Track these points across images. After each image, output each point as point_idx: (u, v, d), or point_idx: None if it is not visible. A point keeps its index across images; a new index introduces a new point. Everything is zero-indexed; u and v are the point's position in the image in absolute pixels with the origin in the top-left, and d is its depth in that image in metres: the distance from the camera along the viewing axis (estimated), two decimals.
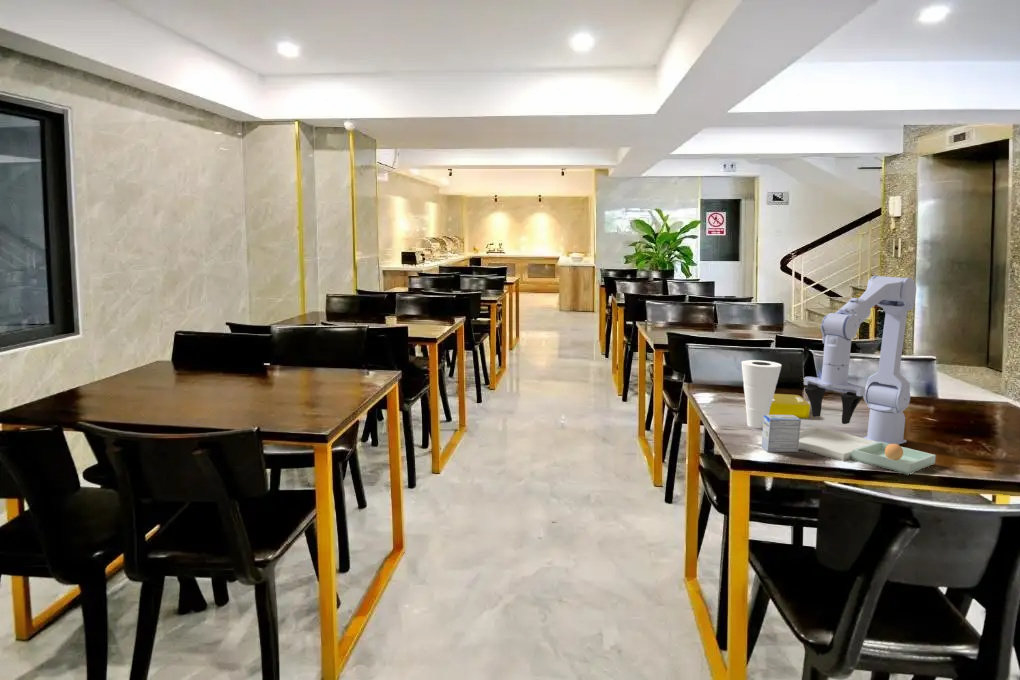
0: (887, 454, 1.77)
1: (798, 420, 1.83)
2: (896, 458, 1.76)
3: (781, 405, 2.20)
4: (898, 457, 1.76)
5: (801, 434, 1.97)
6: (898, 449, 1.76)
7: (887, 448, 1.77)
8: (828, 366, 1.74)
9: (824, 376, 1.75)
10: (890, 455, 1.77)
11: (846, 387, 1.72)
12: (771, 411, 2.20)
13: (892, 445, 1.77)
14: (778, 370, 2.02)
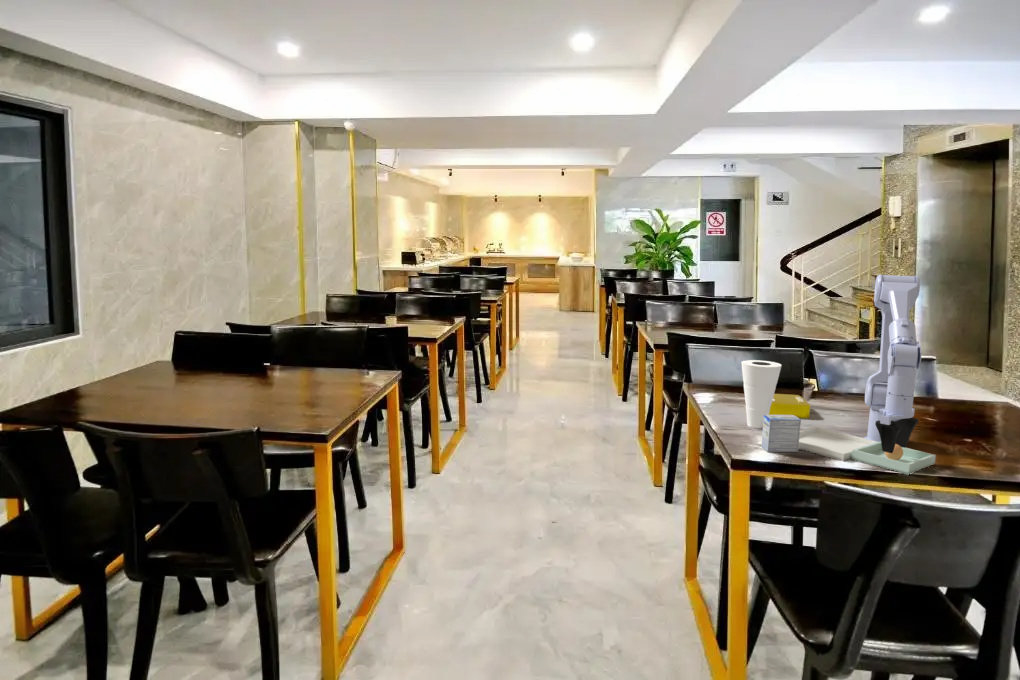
0: (887, 454, 1.77)
1: (798, 420, 1.83)
2: (896, 458, 1.76)
3: (781, 405, 2.19)
4: (898, 457, 1.76)
5: (801, 434, 1.97)
6: (898, 449, 1.76)
7: None
8: None
9: None
10: (890, 455, 1.77)
11: (883, 414, 1.75)
12: (771, 411, 2.20)
13: None
14: (778, 370, 2.02)
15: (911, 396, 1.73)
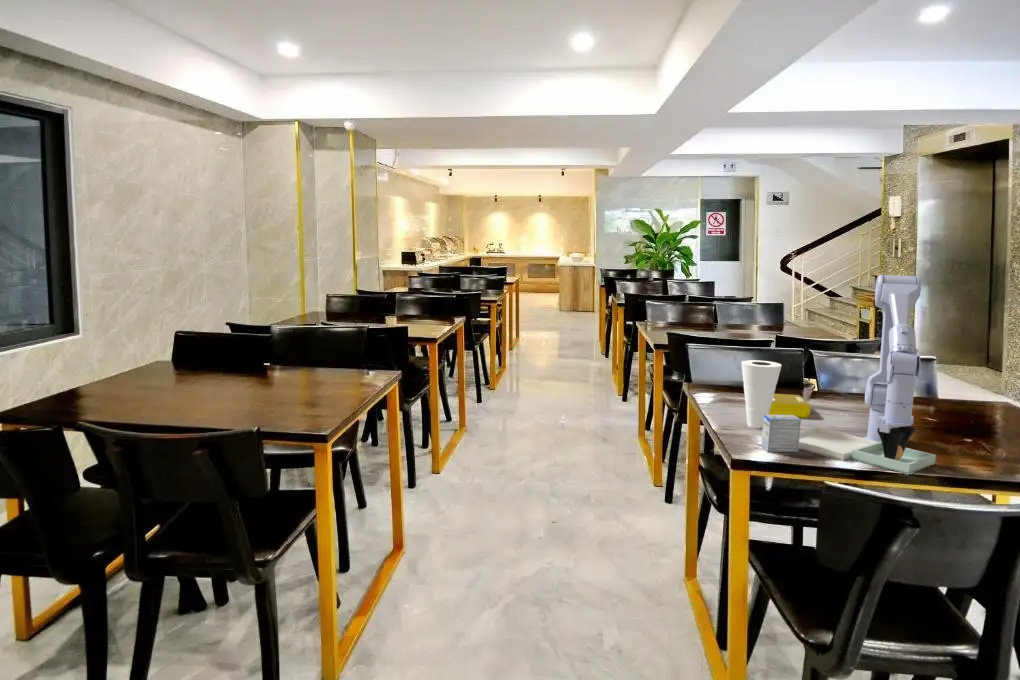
0: None
1: (798, 420, 1.83)
2: (896, 458, 1.76)
3: (781, 405, 2.20)
4: (898, 457, 1.76)
5: (801, 434, 1.97)
6: (898, 449, 1.76)
7: None
8: None
9: None
10: None
11: (882, 422, 1.75)
12: (771, 411, 2.20)
13: None
14: (778, 370, 2.02)
15: (910, 404, 1.73)
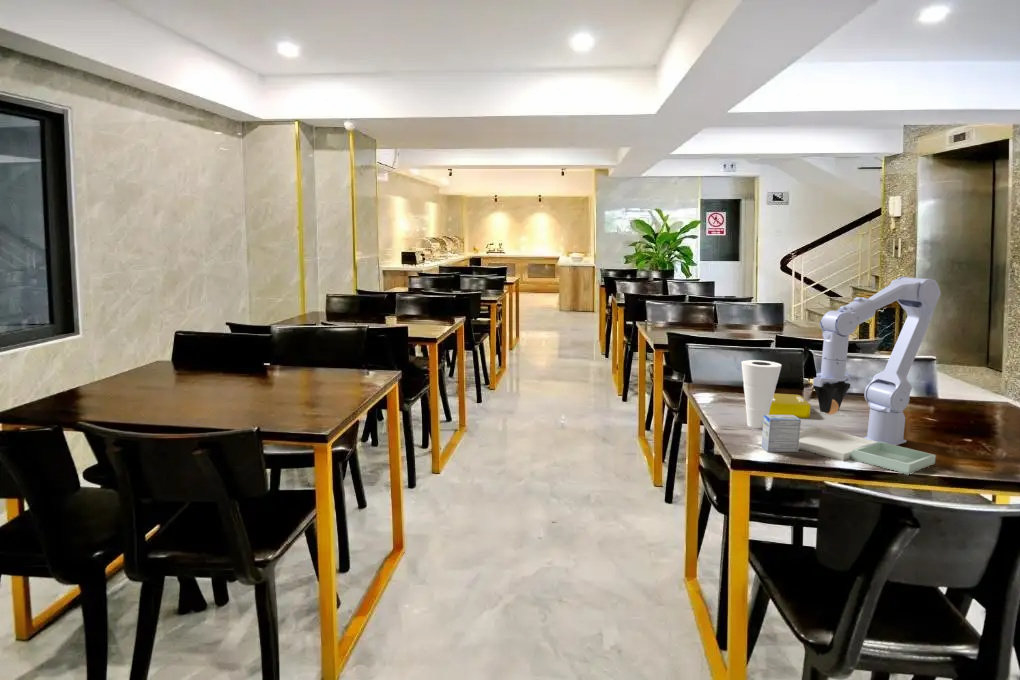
0: None
1: (798, 420, 1.83)
2: (831, 412, 1.87)
3: (782, 405, 2.20)
4: (833, 411, 1.87)
5: (801, 434, 1.97)
6: (833, 404, 1.87)
7: None
8: None
9: None
10: None
11: (817, 377, 1.86)
12: (771, 411, 2.21)
13: None
14: (778, 370, 2.02)
15: (843, 360, 1.84)
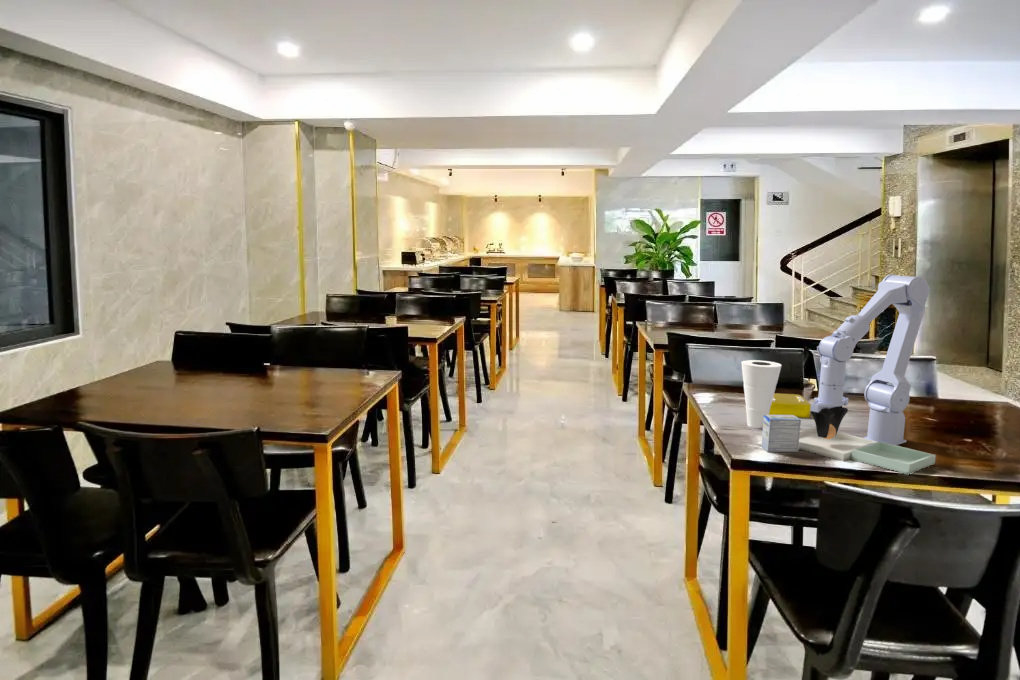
0: None
1: (798, 420, 1.83)
2: (829, 437, 1.88)
3: (782, 405, 2.20)
4: (831, 436, 1.88)
5: (801, 434, 1.97)
6: (830, 428, 1.88)
7: None
8: None
9: None
10: None
11: None
12: (772, 411, 2.21)
13: None
14: (778, 370, 2.02)
15: (840, 386, 1.85)
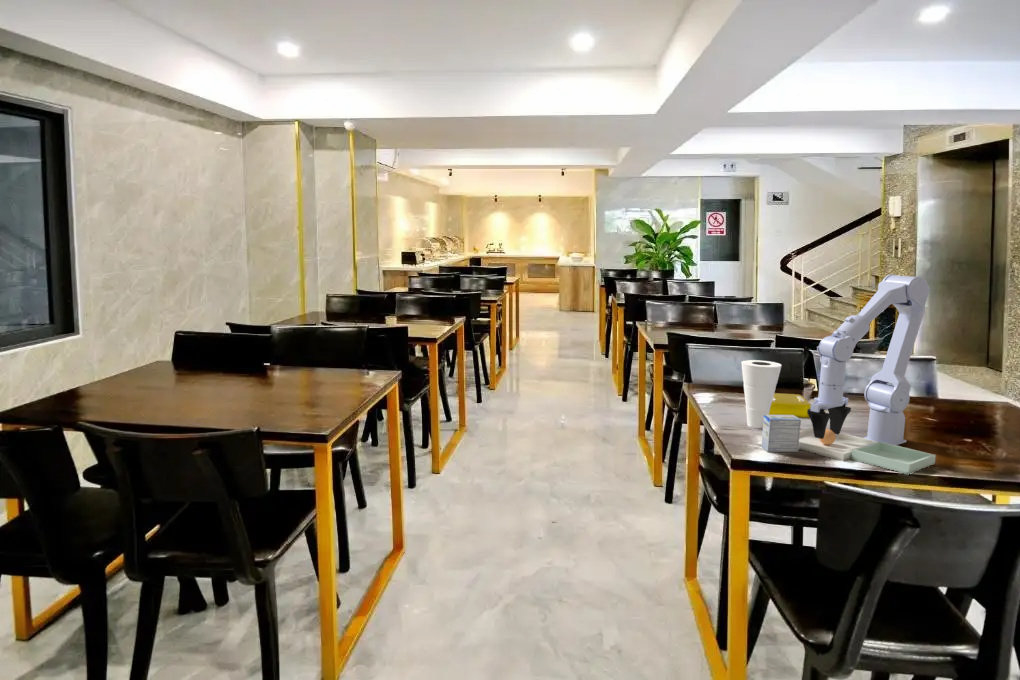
0: (820, 439, 1.89)
1: (798, 420, 1.83)
2: (828, 442, 1.88)
3: (782, 404, 2.20)
4: (830, 441, 1.88)
5: (801, 434, 1.97)
6: (830, 434, 1.88)
7: None
8: None
9: None
10: (822, 439, 1.89)
11: None
12: (772, 410, 2.21)
13: None
14: (778, 370, 2.02)
15: (840, 386, 1.85)
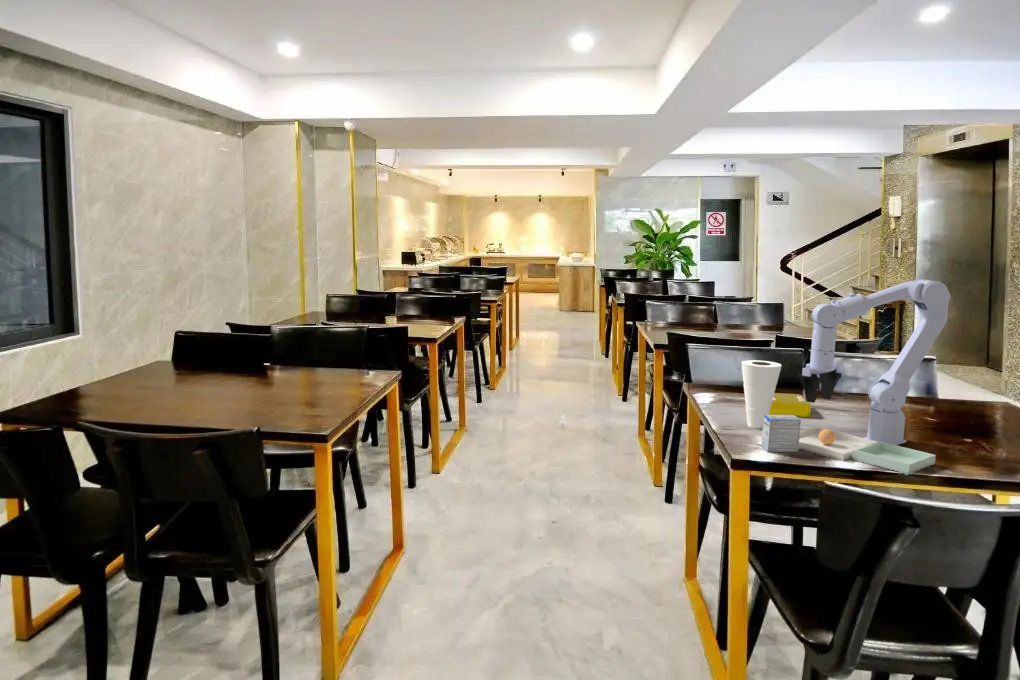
0: (820, 439, 1.89)
1: (798, 420, 1.83)
2: (828, 442, 1.88)
3: (782, 404, 2.21)
4: (830, 441, 1.88)
5: (801, 434, 1.97)
6: (830, 434, 1.88)
7: (820, 433, 1.89)
8: None
9: None
10: (823, 439, 1.89)
11: (806, 367, 1.94)
12: (772, 410, 2.21)
13: (825, 430, 1.89)
14: (778, 370, 2.02)
15: (831, 351, 1.92)
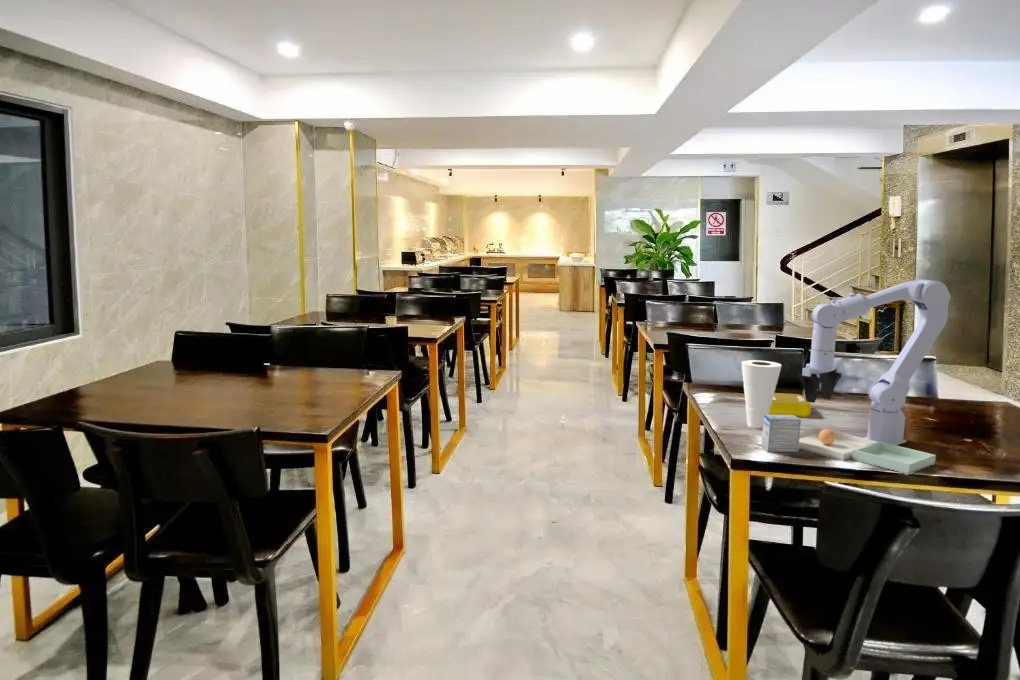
0: (820, 439, 1.89)
1: (798, 420, 1.83)
2: (828, 442, 1.88)
3: (782, 404, 2.21)
4: (830, 441, 1.88)
5: (801, 434, 1.97)
6: (830, 434, 1.88)
7: (821, 433, 1.89)
8: None
9: None
10: (823, 439, 1.89)
11: (806, 367, 1.94)
12: (772, 410, 2.22)
13: (825, 430, 1.89)
14: (778, 370, 2.02)
15: (831, 351, 1.92)
